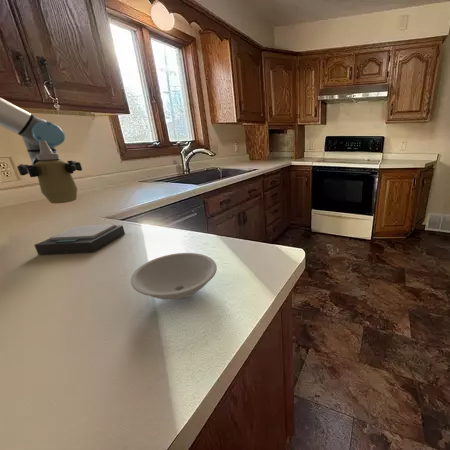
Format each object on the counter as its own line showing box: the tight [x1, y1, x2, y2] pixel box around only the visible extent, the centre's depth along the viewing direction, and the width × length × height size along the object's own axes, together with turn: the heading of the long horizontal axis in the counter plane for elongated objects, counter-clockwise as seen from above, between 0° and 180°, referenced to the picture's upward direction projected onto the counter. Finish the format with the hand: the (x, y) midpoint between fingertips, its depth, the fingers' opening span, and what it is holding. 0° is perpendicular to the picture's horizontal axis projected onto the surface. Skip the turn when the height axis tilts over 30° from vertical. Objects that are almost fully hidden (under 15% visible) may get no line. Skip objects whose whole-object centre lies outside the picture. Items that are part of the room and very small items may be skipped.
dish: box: [130, 252, 218, 301], centre depth 48 cm, size 18×14×5 cm
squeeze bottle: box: [35, 140, 78, 205], centre depth 73 cm, size 8×8×18 cm
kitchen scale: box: [33, 223, 126, 256], centre depth 74 cm, size 15×14×4 cm
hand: (53, 170), depth 69 cm, fingers closed on squeeze bottle, 6 cm apart
